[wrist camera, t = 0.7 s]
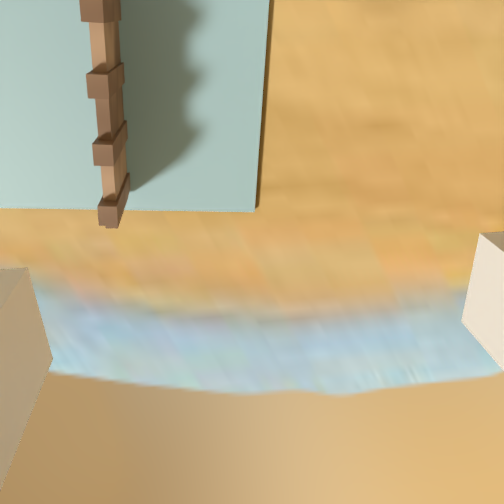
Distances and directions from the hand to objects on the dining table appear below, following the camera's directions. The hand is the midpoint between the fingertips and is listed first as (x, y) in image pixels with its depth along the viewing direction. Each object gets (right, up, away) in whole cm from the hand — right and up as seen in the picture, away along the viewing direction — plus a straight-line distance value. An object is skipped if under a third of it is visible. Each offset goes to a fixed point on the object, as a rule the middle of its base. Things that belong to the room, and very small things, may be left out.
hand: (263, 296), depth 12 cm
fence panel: (-8, +9, +14) cm, 18 cm away
